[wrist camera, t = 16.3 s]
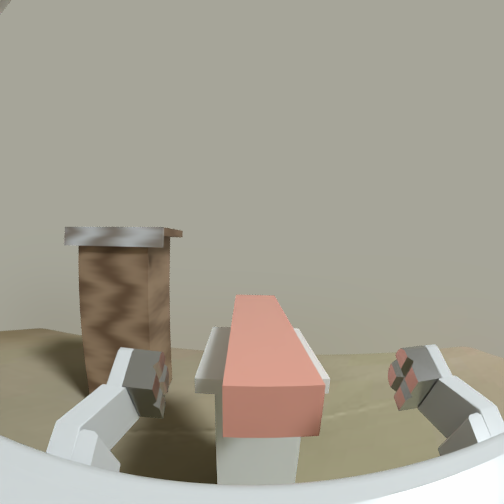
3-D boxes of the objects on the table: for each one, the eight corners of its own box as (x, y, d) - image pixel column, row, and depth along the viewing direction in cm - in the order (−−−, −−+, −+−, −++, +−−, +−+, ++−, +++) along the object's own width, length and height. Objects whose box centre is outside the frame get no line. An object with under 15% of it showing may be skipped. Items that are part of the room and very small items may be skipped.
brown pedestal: (77, 401, 38) (64, 226, 37) (108, 371, 51) (102, 229, 50) (168, 416, 38) (163, 227, 38) (183, 380, 51) (182, 230, 50)
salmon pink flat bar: (222, 437, 12) (222, 385, 12) (235, 318, 34) (235, 294, 34) (318, 435, 12) (325, 384, 12) (273, 318, 34) (274, 295, 34)
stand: (205, 533, 18) (194, 378, 18) (215, 456, 30) (213, 326, 30) (303, 532, 18) (330, 378, 18) (287, 456, 30) (298, 328, 30)
